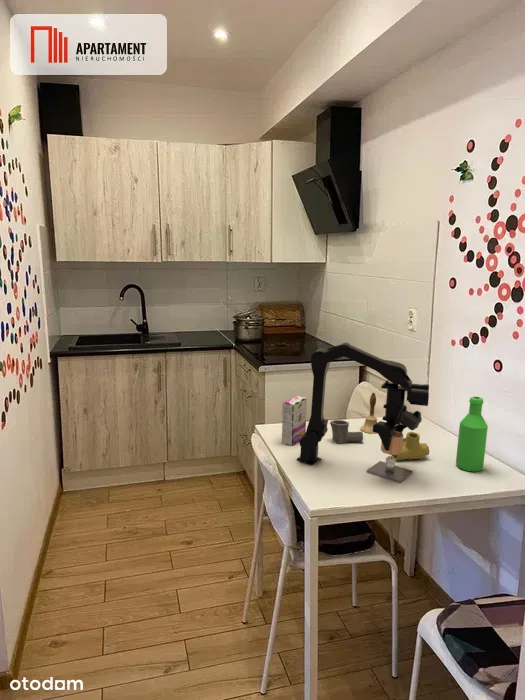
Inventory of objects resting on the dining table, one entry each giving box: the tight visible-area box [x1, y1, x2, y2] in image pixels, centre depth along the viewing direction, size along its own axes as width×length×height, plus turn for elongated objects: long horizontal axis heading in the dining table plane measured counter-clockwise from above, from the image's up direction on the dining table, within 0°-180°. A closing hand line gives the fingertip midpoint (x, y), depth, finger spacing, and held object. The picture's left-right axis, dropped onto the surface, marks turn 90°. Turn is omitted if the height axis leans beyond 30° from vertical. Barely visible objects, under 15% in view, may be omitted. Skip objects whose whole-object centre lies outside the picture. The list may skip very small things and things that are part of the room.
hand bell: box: [359, 392, 378, 434], centre depth 211 cm, size 8×8×16 cm
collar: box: [380, 431, 404, 456], centre depth 170 cm, size 6×6×7 cm
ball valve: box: [391, 431, 430, 462], centre depth 185 cm, size 13×10×10 cm
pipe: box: [329, 419, 364, 444], centre depth 198 cm, size 6×13×8 cm, turn 89°
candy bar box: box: [281, 395, 307, 447], centre depth 197 cm, size 11×5×16 cm, turn 148°
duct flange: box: [366, 455, 414, 484], centre depth 172 cm, size 10×12×6 cm
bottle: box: [455, 396, 489, 472], centre depth 176 cm, size 9×9×25 cm
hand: (391, 447), depth 171 cm, fingers closed on collar, 6 cm apart
